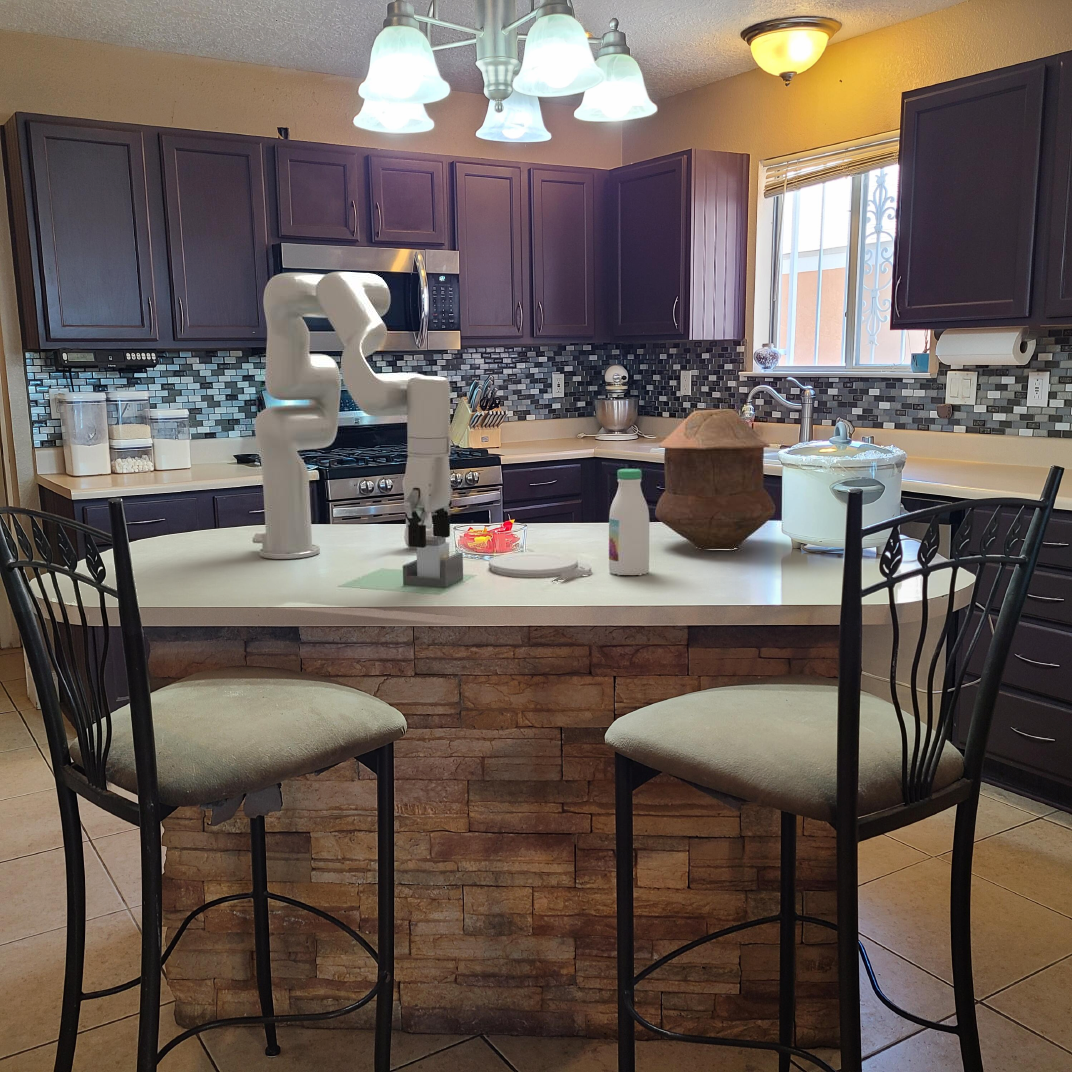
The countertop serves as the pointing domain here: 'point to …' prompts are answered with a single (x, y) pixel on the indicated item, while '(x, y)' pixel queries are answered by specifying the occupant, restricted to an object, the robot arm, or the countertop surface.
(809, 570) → the countertop surface
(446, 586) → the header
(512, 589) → the countertop surface
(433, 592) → the board
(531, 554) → the lid
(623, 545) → the milk bottle
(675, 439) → the pottery vessel
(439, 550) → the plug
